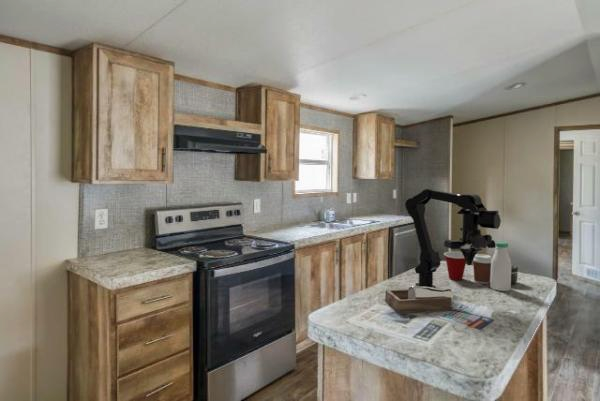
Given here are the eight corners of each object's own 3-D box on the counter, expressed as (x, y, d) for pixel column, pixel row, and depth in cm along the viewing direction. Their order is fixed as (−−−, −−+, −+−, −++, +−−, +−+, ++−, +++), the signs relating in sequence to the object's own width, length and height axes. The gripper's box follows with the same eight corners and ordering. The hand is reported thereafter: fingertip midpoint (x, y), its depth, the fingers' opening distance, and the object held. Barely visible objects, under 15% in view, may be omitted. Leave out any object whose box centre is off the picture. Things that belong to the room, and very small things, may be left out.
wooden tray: (384, 300, 145) (384, 289, 145) (432, 298, 148) (433, 287, 148) (399, 313, 131) (399, 301, 131) (452, 310, 134) (452, 298, 134)
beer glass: (453, 307, 137) (415, 306, 134) (443, 303, 144) (406, 302, 141) (454, 288, 137) (416, 286, 135) (443, 285, 144) (407, 284, 142)
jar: (517, 281, 172) (518, 264, 171) (516, 286, 164) (517, 269, 163) (493, 277, 177) (494, 262, 177) (491, 283, 169) (491, 266, 168)
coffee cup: (475, 277, 177) (476, 252, 176) (496, 281, 171) (497, 255, 170) (467, 281, 171) (468, 255, 170) (488, 285, 164) (489, 259, 164)
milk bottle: (513, 292, 156) (515, 244, 154) (493, 291, 157) (494, 244, 156) (506, 286, 163) (508, 241, 162) (487, 285, 165) (489, 240, 163)
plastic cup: (440, 279, 175) (440, 253, 174) (447, 274, 183) (447, 250, 183) (464, 283, 168) (465, 257, 167) (470, 278, 177) (471, 253, 176)
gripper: (459, 229, 138) (458, 271, 139) (505, 228, 141) (504, 269, 142) (444, 225, 149) (443, 264, 150) (487, 224, 152) (485, 262, 153)
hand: (469, 265), depth 148 cm, fingers closed
